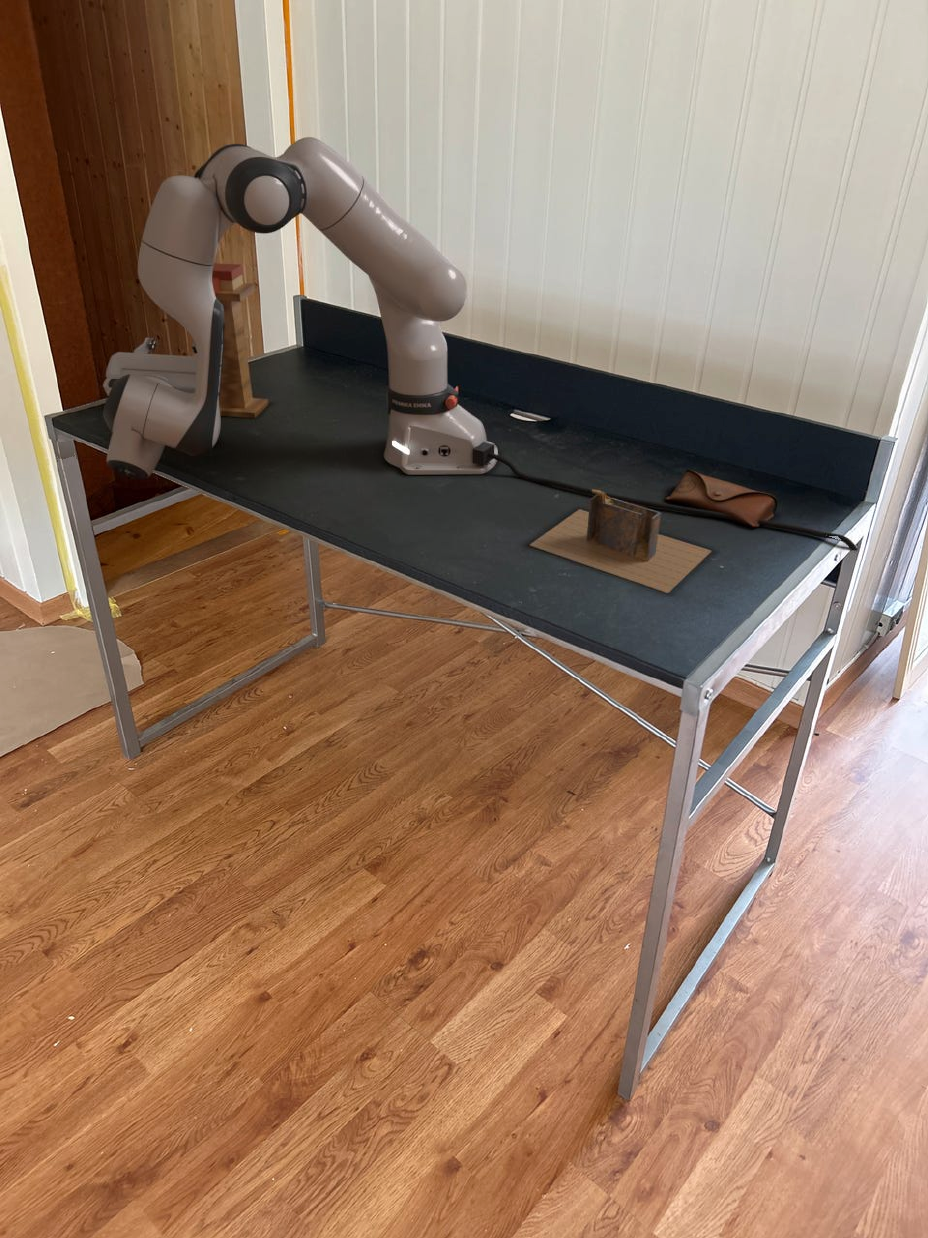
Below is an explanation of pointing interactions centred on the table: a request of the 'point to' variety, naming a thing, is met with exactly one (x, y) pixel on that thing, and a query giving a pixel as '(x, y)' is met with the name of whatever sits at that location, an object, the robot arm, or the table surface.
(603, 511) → the ruin model on sheet
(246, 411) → the stand
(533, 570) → the table surface
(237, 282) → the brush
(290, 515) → the table surface
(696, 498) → the sunglasses case
